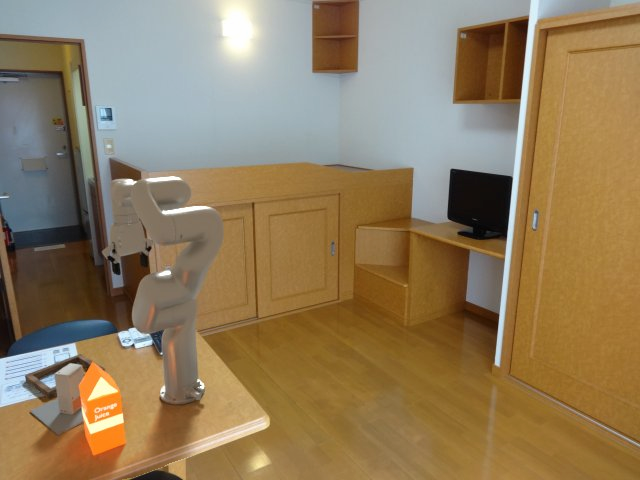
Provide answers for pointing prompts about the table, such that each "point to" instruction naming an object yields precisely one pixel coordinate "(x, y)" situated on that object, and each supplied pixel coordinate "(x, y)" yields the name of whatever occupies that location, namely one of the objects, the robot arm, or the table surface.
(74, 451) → the table surface
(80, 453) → the table surface
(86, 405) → the orange juice
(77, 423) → the rubber mat
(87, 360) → the brown square frame
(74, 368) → the skincare box
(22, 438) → the table surface
